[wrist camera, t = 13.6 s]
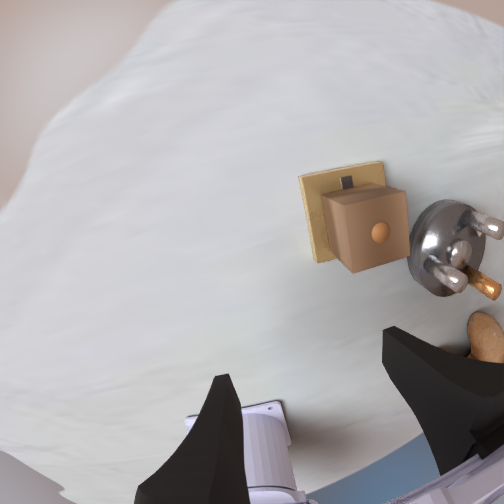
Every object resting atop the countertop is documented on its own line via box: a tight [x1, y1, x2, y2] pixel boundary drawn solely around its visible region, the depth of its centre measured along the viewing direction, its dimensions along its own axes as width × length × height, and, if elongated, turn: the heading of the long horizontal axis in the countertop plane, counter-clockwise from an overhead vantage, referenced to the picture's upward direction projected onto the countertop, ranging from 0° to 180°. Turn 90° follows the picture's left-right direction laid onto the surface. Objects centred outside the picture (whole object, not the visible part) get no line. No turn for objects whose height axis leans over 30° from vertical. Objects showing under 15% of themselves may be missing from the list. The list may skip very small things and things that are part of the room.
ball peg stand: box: [407, 200, 504, 300], centre depth 19 cm, size 8×8×6 cm
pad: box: [298, 162, 386, 263], centre depth 20 cm, size 6×6×1 cm
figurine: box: [445, 312, 504, 363], centre depth 22 cm, size 11×9×15 cm
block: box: [321, 183, 410, 273], centre depth 18 cm, size 4×4×4 cm
